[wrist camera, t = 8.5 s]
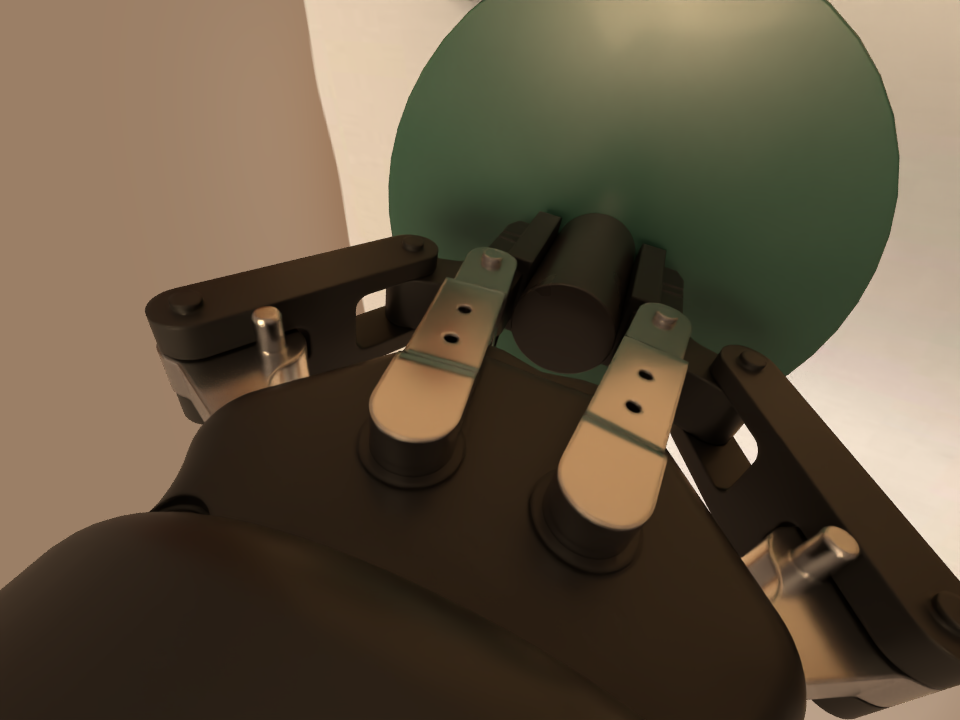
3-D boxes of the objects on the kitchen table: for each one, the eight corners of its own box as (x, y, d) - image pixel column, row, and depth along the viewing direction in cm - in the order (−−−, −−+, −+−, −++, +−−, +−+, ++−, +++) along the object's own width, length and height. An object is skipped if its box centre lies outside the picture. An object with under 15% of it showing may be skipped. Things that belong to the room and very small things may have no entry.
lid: (638, -261, 9) (588, -524, 5) (1007, 263, 12) (1197, 413, 8) (340, 224, 19) (230, 290, 15) (581, 453, 22) (553, 568, 17)
